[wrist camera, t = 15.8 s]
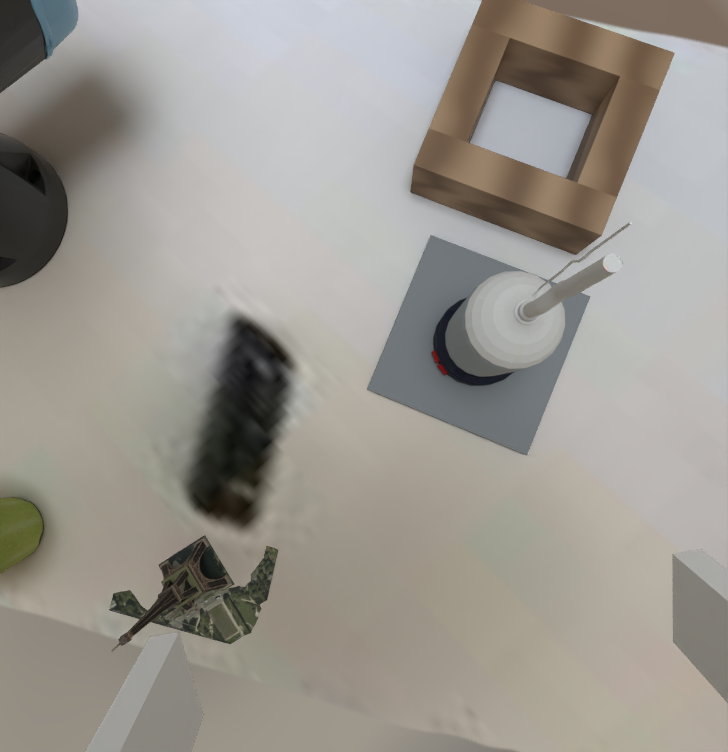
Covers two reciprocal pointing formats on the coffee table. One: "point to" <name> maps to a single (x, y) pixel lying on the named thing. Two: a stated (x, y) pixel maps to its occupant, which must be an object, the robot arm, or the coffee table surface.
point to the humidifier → (510, 322)
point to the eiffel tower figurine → (201, 596)
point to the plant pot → (18, 531)
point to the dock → (556, 82)
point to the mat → (441, 392)
